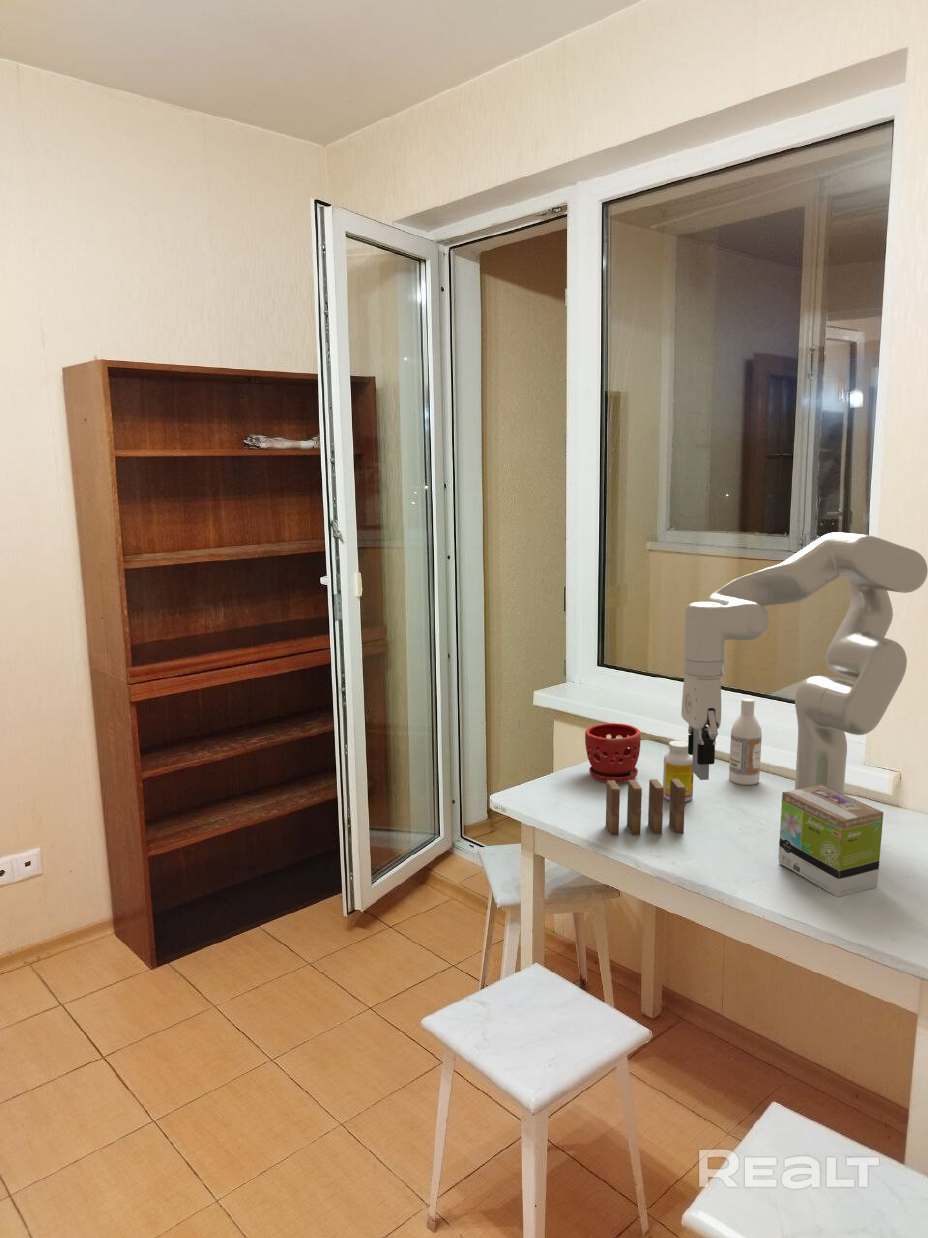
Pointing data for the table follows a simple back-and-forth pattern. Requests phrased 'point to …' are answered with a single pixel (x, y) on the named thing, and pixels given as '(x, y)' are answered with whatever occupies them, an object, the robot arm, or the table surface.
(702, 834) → the table surface
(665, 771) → the supplement bottle
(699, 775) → the head domino
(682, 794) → the domino
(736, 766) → the bath foam
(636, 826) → the domino
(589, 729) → the plant pot
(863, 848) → the tea box
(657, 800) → the domino
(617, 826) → the domino
